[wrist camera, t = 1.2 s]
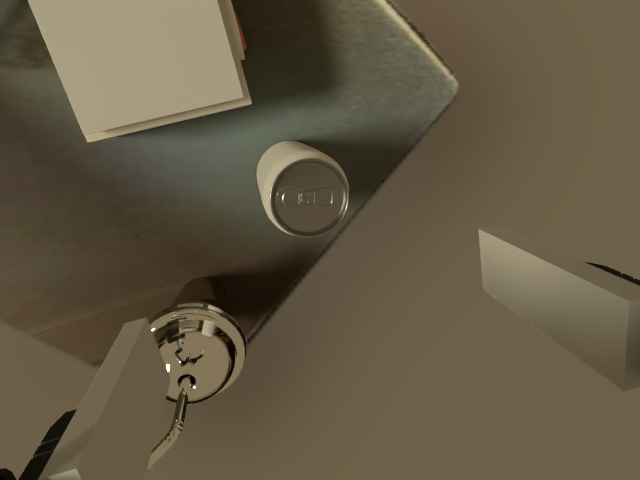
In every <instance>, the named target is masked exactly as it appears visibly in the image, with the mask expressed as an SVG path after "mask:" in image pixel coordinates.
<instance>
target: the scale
mask: <svg viewBox="0 0 640 480" xmlns="http://www.w3.org/2000/svg"><path fill="white" fill-rule="evenodd" d="M28 2H29V4H30V7H31V9H32V12H33V14H34V16H35V19H36V21H37V24H38V26H39V29H40V31H41V33H42V36H43V38H44V41H45V43H46V45H47V48H48V50H49V53H50V55H51V57H52V60H53V62H54V65H55V67H56V69H57V72H58V74H59V77H60V79H61V82H62V84H63V86H64V89H65V91H66V94H67V96H68V98H69V101H70V103H71V106H72V108H73V110H74V113H75V115H76V118H77V120H78V123H79V125H80V127H81V130H82V132H83V135H85V138H86V140H87V142H93V141H98V140H103V139H108V138H113V137H118V136H122V135H126V134H131V133H135V132H139V131H143V130H147V129H152V128H156V127H160V126H164V125H168V124H173V123H177V122H181V121H185V120H189V119H194V118H198V117H202V116H206V115H210V114H215V113H219V112H223V111H227V110H231V109H236V108H240V107H244V106H248V105H251V104H252V102H251V98H250V94H249V90H248V87H247V83H246V79H245V76H244V72H243V68H242V64H241V61H240V60H244V59H245V55H244V50H246V48H247V46H246V43H245V40H244V36H243V33H242V29H241V26H240V23H239V19H238V16H237V14H236V13H234V9H233V5H232V2H231V0H28Z"/></svg>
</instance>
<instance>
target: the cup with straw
mask: <svg viewBox="0 0 640 480" xmlns="http://www.w3.org/2000/svg"><path fill="white" fill-rule="evenodd" d="M148 322H149V325H150V328H151V330H152V333H153V335H154V338H155V340H156V343H157V345H158V348H159V350H160V353H161V355H162V358H163V360H164V363H165V365H166V368H167V370H168V373H169V376H170V378H171V381H170V384H169V388H168V392H167V396H166V400H168V401H170V402H174V403H176V408H175V412H174V417H173V421H172V424H171V427H170V429H169V431H168V433H167V434H166V436H165V437H164V438H163V439H162V440H161V441H160V442H159V443H158V444H157V445H156V446H155V447H154V448H153V449H152V452H151V456H150V460H149V464H148V467H147V471H149V469H150V468H151V467H152V466H153V465H154V464H155V463H156V462H157V461H158V460H159V459H160V458H161V457H162V456H163V455H164V454H165V453H166V452H167V451H168V450H169V449H170V448H171V447H172V446H173V445H174V443H175V442H176V441H177V439H178V437H179V435H180V434H181V432H182V430H183V427H184V420H185V414H186V409H187V404H195V403H199V402H202V401H205V400H207V399H209V398H211V397H212V396H214V395H216V394H218V393H220V392H221V391H223V390H225V389H226V388H227V387H229V386H230V385H231V384H232V383H233V382H234V381H235V379H236V378H237V377H238V375H239V374H240V371H241V370H242V367H243V365H244V362H245V358H246V354H247V343H246V339H245V335H244V333H243V331H242V329H241V327H240V326H239V324H238V323H237V322H236V320H235V319H234V318H232V317H231V316H230V315H229V311H228V306H227V300H226V295H225V292H224V289H223V288H222V286H221V285H220V284H219V283H218V282H216V281H214V280H212V279H209V278H197V279H194V280H191V281H190V282H188V283H187V284H186V285H185V286H184V287H183V288H182V290H181V292H180V293H179V294H178V296H177V298H176V299H175V301H174V302H173V304H172V305H171V307H169V308H166V309H164V310H162V311H161V312H159V313H157V314H156V315H154V316H153V317H152V318H151V319H150V320H149V321H148ZM147 471H146V473H147Z"/></svg>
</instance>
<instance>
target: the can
mask: <svg viewBox="0 0 640 480" xmlns="http://www.w3.org/2000/svg"><path fill="white" fill-rule="evenodd" d="M257 182H258V187H259V191H260V195H261V198H262V202H263V205H264V208H265V211H266V213H267V215H268V217H269V218H270V219H271V221H272V222H273V223H274V224H275V225H276V226H277V227H278V228H279V229H281V230H282V231H284V232H286V233H288V234H290V235H294V236H297V237H302V238H315V237H319V236H322V235H325V234H327V233H329V232H330V231H332V230H333V229H334V228H336V227H337V226H338V225H339V223H340V222H341V221H342V220H343V218H344V216H345V214H346V212H347V209H348V205H349V185H348V181H347V178H346V176H345V173H344V172H343V170H342V168H341V167H340V166H339V165H338V163H337V162H336V161H334V160H333V159H332V158H331V157H329V156H328V155H326V154H324V153H322V152H320V151H318V150H316V149H314V148H312V147H310V146H308V145H305V144H303V143H300V142H296V141H284V142H280V143H277V144H275V145H273V146H272V147H270V148H269V149H268V150H267V151H266V152H265V153H264V154H263V156H262V157H261V159H260V161H259V163H258V166H257Z"/></svg>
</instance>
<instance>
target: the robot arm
mask: <svg viewBox="0 0 640 480" xmlns="http://www.w3.org/2000/svg"><path fill="white" fill-rule="evenodd" d="M479 241H480V254H481V267H482V280H483V290H484V291H485V292H487V293H488V294H490V295H491V296H492V297H494V298H495V299H496V300H498V301H499V302H501V303H502V304H504V305H505V306H506V307H508V308H509V309H510V310H512V311H513V312H515V313H516V314H518V315H519V316H520V317H521V318H523V319H524V320H526V321H527V322H528V323H530V324H531V325H533V326H534V327H535V328H537V329H538V330H539V331H541V332H542V333H544V334H545V335H546V336H548V337H549V338H551V339H552V340H553V341H555V342H556V343H557V344H559V345H560V346H562V347H563V348H565V349H566V350H567V351H568V352H570V353H571V354H573V355H574V356H575V357H577V358H578V359H579V360H581V361H582V362H584V363H585V364H586V365H588V366H589V367H591V368H592V369H593V370H595V371H596V372H598V373H599V374H600V375H602V376H603V377H604V378H606V379H607V380H609V381H610V382H611V383H613V384H614V385H615V386H617V387H618V388H620V389H621V390H623V391H627V390H630V389H633V388H636V387H639V386H640V280H638V279H633V277H631V276H628V275H626V274H621V273H620V272H619V271H616V270H614V269H611V268H609V267H606V266H603V265H598V264H593V263H588V262H583V261H580V260H578V259H576V258H573V257H571V256H569V255H566V254H564V253H562V252H559V251H557V250H555V249H552V248H550V247H548V246H545V245H543V244H541V243H539V242H536V241H533V240H531V239H529V238H527V237H524V236H522V235H520V234H518V233H515V232H513V231H511V230H508V229H506V228H504V227H501V226H499V225H497V224H495V225H492V226H488V227H484V228H480V229H479ZM170 381H171V378H170V376H169V373H168V370H167V368H166V365H165V363H164V360H163V358H162V355H161V353H160V350H159V348H158V345H157V343H156V340H155V338H154V335H153V333H152V330H151V328H150V325H149V322H148V320H147V318H143V319H139V320H135V321H132V322H128V323H125V324H124V326H123V328H122V330H121V331H120V333H119V335H118V337H117V339H116V340H115V342H114V344H113V346H112V348H111V349H110V351H109V353H108V355H107V357H106V358H105V360H104V362H103V364H102V366H101V367H100V369H99V371H98V373H97V375H96V377H95V378H94V380H93V382H92V384H91V386H90V387H89V389H88V391H87V393H86V394H85V396H84V398H83V400H82V402H81V403H80V405H79V407H78V409H76V410H73V411H69V412H66V413H65V414H64V415H63V416H62V417H61V418H60V419H59V420H58V421H57V422H56V423H55V424H54V425H53V426H51V427H50V429H49V431H48V432H47V434H46V436H45V437H44V439H43V441H42V442H41V446H39V447H38V449H37V450H36V452H35V454H34V455H33V459H31V460H30V462H29V464H28V465H27V467H26V468H25V470H24V472H23V473H22V475H21V477H20V478H19V480H144V479H145V475H146V471H147V467H148V464H149V460H150V456H151V452H152V449H153V445H154V441H155V437H156V433H157V430H158V426H159V422H160V418H161V415H162V411H163V407H164V403H165V400H166V396H167V392H168V388H169V384H170ZM0 480H16V478H15V476H14V475H13V473H12V472H11V471H9V470H8V469H6V468H5V469H0Z"/></svg>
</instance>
